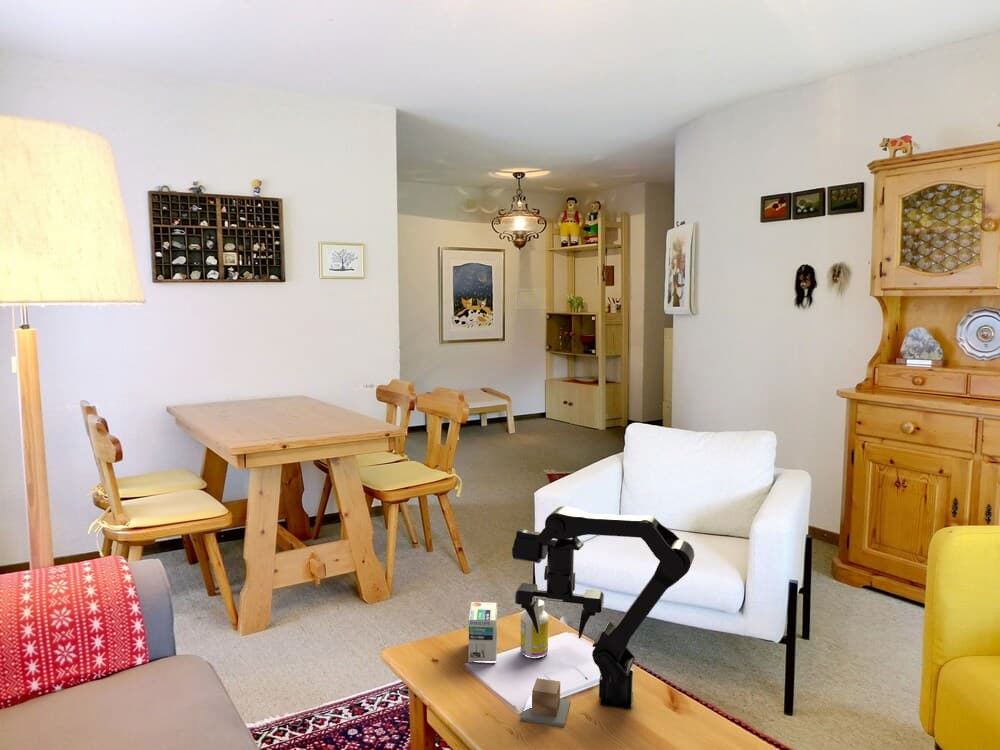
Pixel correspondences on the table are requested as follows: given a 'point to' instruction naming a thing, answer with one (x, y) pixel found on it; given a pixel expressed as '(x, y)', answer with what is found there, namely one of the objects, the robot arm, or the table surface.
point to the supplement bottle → (534, 633)
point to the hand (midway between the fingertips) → (558, 635)
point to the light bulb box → (482, 631)
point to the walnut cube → (546, 697)
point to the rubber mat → (549, 720)
